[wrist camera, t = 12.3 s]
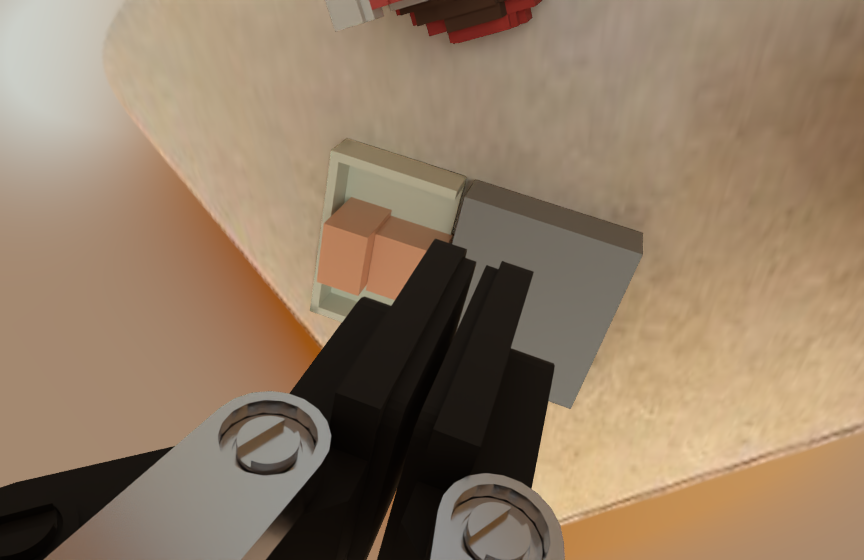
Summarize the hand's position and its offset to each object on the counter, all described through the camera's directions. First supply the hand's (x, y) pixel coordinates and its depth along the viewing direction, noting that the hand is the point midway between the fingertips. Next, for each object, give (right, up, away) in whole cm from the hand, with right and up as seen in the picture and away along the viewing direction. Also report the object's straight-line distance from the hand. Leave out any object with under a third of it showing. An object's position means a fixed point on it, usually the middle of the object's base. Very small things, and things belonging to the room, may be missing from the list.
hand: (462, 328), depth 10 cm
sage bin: (-4, +4, +34) cm, 34 cm away
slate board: (+6, 0, +33) cm, 33 cm away
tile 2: (-2, +3, +33) cm, 34 cm away
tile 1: (-4, +3, +32) cm, 32 cm away
